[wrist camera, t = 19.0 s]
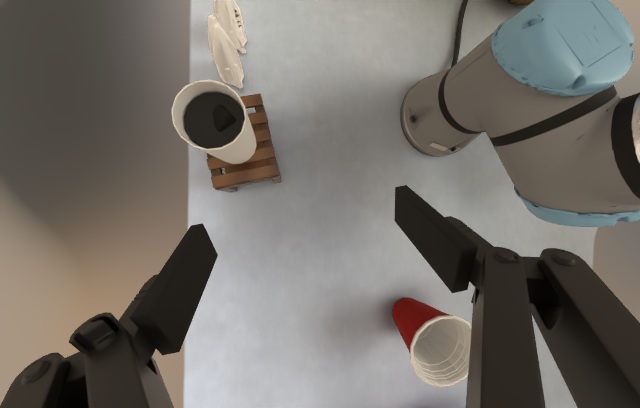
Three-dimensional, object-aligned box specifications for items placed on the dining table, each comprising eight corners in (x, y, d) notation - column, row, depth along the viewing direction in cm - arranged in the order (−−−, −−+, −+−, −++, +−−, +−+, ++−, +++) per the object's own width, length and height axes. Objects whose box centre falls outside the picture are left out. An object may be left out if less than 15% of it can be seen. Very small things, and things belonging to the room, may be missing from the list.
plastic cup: (368, 323, 43) (398, 369, 31) (397, 275, 44) (438, 302, 32) (412, 350, 44) (457, 404, 32) (440, 302, 45) (494, 338, 33)
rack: (266, 116, 40) (260, 91, 31) (281, 181, 41) (279, 175, 32) (214, 125, 39) (192, 102, 30) (230, 192, 40) (213, 189, 31)
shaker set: (245, 94, 40) (229, 53, 29) (220, 92, 39) (194, 49, 28) (248, 27, 40) (233, -40, 29) (223, 23, 39) (198, -46, 28)
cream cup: (237, 109, 31) (213, 65, 21) (269, 147, 32) (261, 121, 22) (198, 139, 30) (154, 108, 20) (232, 177, 31) (205, 165, 21)
